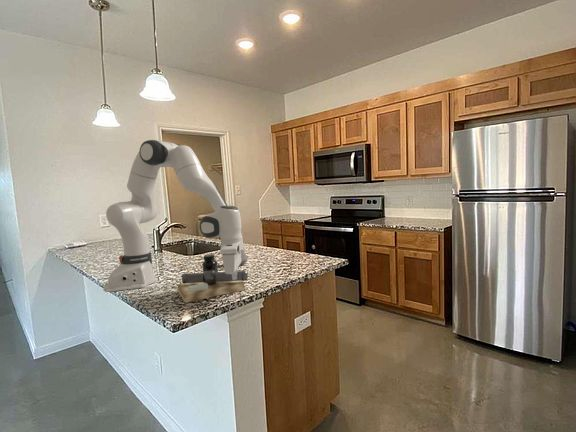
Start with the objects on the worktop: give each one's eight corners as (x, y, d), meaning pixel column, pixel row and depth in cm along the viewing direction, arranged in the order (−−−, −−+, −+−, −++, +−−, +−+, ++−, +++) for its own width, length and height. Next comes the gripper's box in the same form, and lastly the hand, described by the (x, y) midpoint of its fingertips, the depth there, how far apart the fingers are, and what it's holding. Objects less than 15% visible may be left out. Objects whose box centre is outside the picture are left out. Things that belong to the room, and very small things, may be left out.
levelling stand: (185, 302, 123) (183, 290, 123) (178, 291, 137) (176, 280, 137) (244, 289, 134) (243, 278, 134) (232, 281, 148) (231, 270, 148)
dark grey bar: (180, 286, 133) (179, 274, 133) (184, 282, 138) (183, 271, 138) (246, 283, 132) (245, 271, 132) (248, 279, 137) (248, 268, 137)
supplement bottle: (212, 277, 156) (210, 253, 154) (221, 279, 151) (219, 254, 150) (200, 281, 150) (198, 256, 149) (209, 283, 146) (207, 257, 145)
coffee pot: (227, 263, 185) (225, 237, 184) (247, 261, 187) (245, 235, 185) (226, 272, 164) (224, 243, 163) (249, 270, 166) (247, 241, 164)
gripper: (229, 241, 141) (231, 273, 143) (219, 251, 121) (222, 287, 122) (243, 240, 141) (245, 272, 143) (236, 249, 121) (238, 286, 122)
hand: (234, 279), depth 132 cm, fingers closed
